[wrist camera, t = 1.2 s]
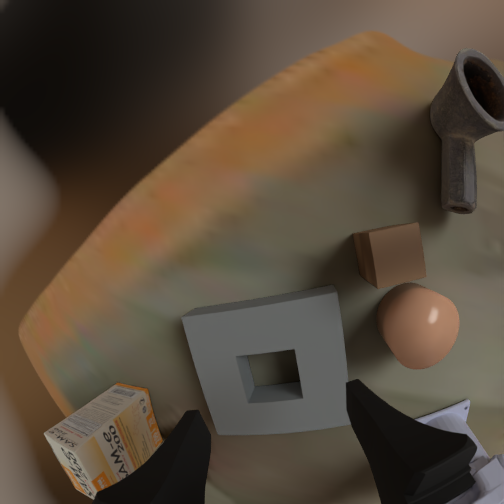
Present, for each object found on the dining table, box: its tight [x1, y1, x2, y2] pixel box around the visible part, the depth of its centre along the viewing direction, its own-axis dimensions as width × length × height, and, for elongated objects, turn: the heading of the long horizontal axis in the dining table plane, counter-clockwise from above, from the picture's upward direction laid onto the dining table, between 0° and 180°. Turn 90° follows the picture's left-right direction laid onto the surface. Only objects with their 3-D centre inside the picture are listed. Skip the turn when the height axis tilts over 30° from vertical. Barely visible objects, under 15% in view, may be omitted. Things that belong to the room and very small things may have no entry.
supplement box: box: [44, 383, 163, 499], centre depth 20 cm, size 8×5×13 cm, turn 4°
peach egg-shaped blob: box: [376, 283, 459, 369], centre depth 18 cm, size 6×6×5 cm
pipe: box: [430, 48, 504, 214], centre depth 15 cm, size 6×13×8 cm, turn 170°
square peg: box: [353, 222, 426, 289], centre depth 18 cm, size 3×3×6 cm
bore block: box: [181, 285, 351, 435], centre depth 21 cm, size 12×12×3 cm
